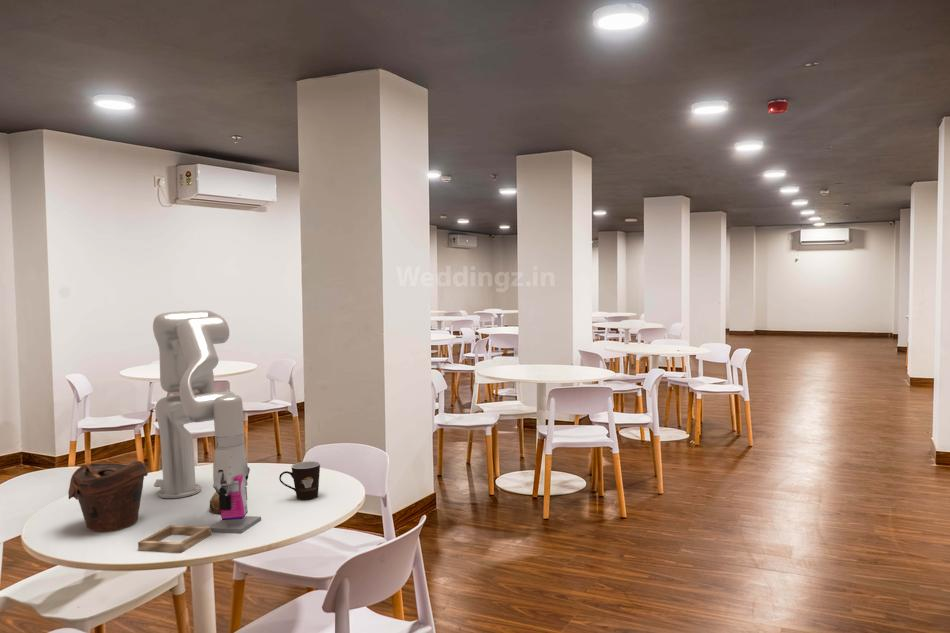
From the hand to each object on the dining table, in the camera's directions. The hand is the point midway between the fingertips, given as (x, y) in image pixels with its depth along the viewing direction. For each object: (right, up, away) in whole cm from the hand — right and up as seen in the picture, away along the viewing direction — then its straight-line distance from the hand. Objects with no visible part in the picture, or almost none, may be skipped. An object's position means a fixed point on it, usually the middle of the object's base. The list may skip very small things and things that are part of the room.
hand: (233, 504), depth 190 cm
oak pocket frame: (-11, -7, -10) cm, 17 cm away
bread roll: (-7, -6, +16) cm, 18 cm away
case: (-36, -7, +6) cm, 38 cm away
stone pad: (0, -6, 0) cm, 6 cm away
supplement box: (0, -3, 0) cm, 4 cm away
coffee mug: (+13, -4, +24) cm, 28 cm away
